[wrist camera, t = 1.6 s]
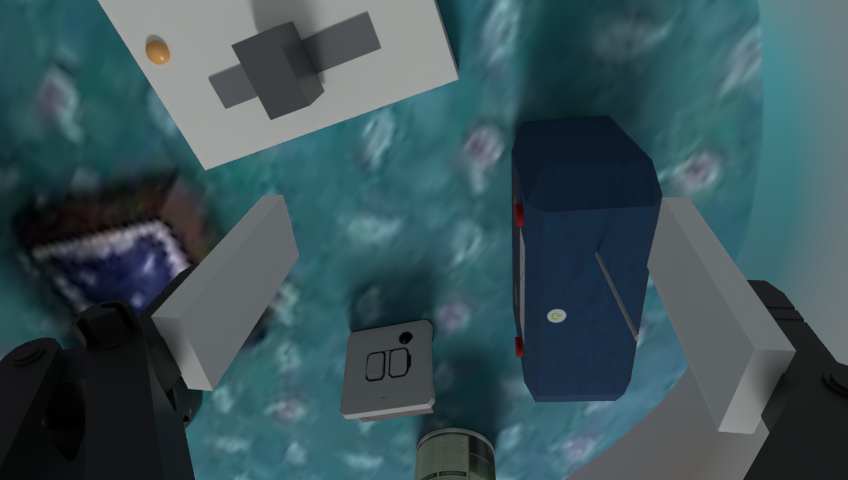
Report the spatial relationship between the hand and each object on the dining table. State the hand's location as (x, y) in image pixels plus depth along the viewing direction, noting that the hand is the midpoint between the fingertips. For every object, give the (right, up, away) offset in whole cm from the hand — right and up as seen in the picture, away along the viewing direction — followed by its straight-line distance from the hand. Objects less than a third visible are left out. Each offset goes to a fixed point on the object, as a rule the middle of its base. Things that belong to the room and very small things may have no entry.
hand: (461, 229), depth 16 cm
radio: (+11, +1, +26) cm, 28 cm away
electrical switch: (-4, -11, +35) cm, 37 cm away
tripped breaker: (-11, +12, +17) cm, 23 cm away
